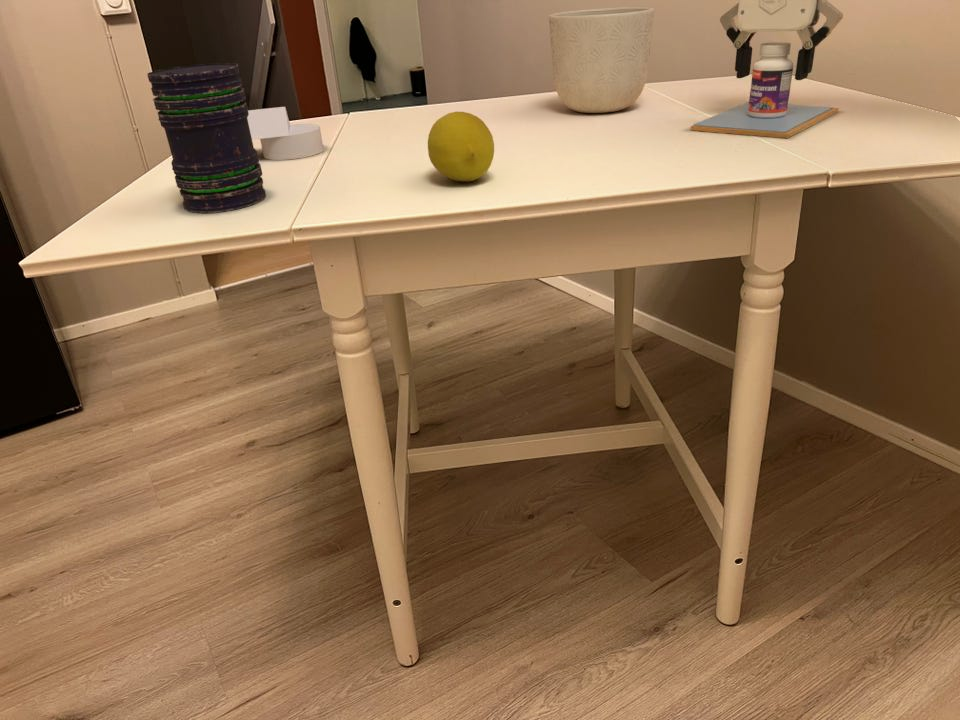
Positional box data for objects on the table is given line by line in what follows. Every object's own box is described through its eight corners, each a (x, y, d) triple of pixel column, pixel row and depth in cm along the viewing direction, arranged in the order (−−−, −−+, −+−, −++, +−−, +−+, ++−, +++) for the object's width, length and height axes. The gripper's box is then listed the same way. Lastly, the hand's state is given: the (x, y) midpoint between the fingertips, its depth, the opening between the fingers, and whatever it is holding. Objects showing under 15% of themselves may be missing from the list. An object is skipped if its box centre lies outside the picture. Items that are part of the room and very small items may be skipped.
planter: (646, 98, 128) (651, 5, 121) (652, 116, 114) (658, 11, 106) (553, 102, 131) (551, 11, 124) (547, 120, 116) (545, 18, 109)
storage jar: (239, 185, 92) (210, 62, 85) (283, 195, 86) (256, 63, 79) (167, 206, 85) (129, 74, 78) (209, 218, 79) (172, 76, 72)
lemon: (503, 186, 83) (500, 115, 79) (438, 194, 82) (431, 123, 78) (485, 166, 92) (481, 101, 88) (426, 173, 91) (419, 108, 87)
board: (838, 111, 107) (839, 106, 106) (787, 138, 94) (788, 132, 94) (747, 106, 115) (748, 101, 115) (690, 130, 103) (690, 124, 102)
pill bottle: (740, 116, 105) (747, 45, 100) (760, 110, 108) (768, 41, 103) (774, 120, 101) (783, 46, 96) (793, 113, 104) (803, 41, 99)
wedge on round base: (234, 165, 102) (324, 155, 104) (222, 117, 99) (316, 107, 101) (239, 153, 110) (323, 143, 112) (228, 108, 107) (315, 99, 109)
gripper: (713, -58, 96) (702, 79, 105) (849, -70, 86) (825, 84, 94) (736, -59, 101) (724, 72, 109) (868, -70, 91) (843, 76, 99)
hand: (771, 77), depth 102 cm, fingers open, 7 cm apart
